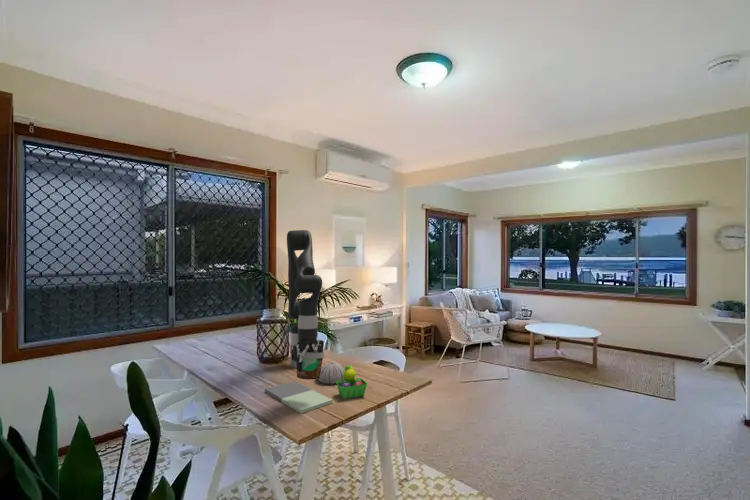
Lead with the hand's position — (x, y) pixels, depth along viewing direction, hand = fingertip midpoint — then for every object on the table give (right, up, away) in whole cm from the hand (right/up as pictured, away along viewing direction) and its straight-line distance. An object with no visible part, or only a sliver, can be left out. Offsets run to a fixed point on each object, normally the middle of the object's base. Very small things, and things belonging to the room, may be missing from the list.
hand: (307, 369), depth 141 cm
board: (-5, -13, +5) cm, 14 cm away
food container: (-1, -3, -1) cm, 3 cm away
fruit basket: (+16, -13, +8) cm, 23 cm away
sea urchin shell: (+6, -14, +25) cm, 29 cm away
